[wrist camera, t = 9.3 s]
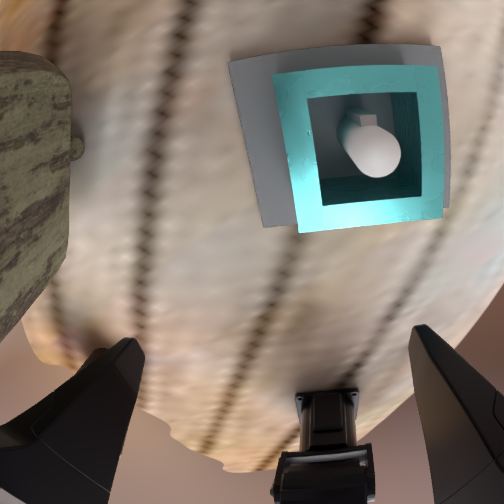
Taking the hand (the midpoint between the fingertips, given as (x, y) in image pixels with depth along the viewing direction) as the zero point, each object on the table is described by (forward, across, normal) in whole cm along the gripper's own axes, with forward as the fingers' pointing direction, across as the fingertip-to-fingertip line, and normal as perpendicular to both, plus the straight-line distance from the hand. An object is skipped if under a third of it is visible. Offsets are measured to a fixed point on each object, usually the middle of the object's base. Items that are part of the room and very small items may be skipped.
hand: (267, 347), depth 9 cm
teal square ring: (+10, -4, -4) cm, 12 cm away
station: (+12, -4, -4) cm, 13 cm away
